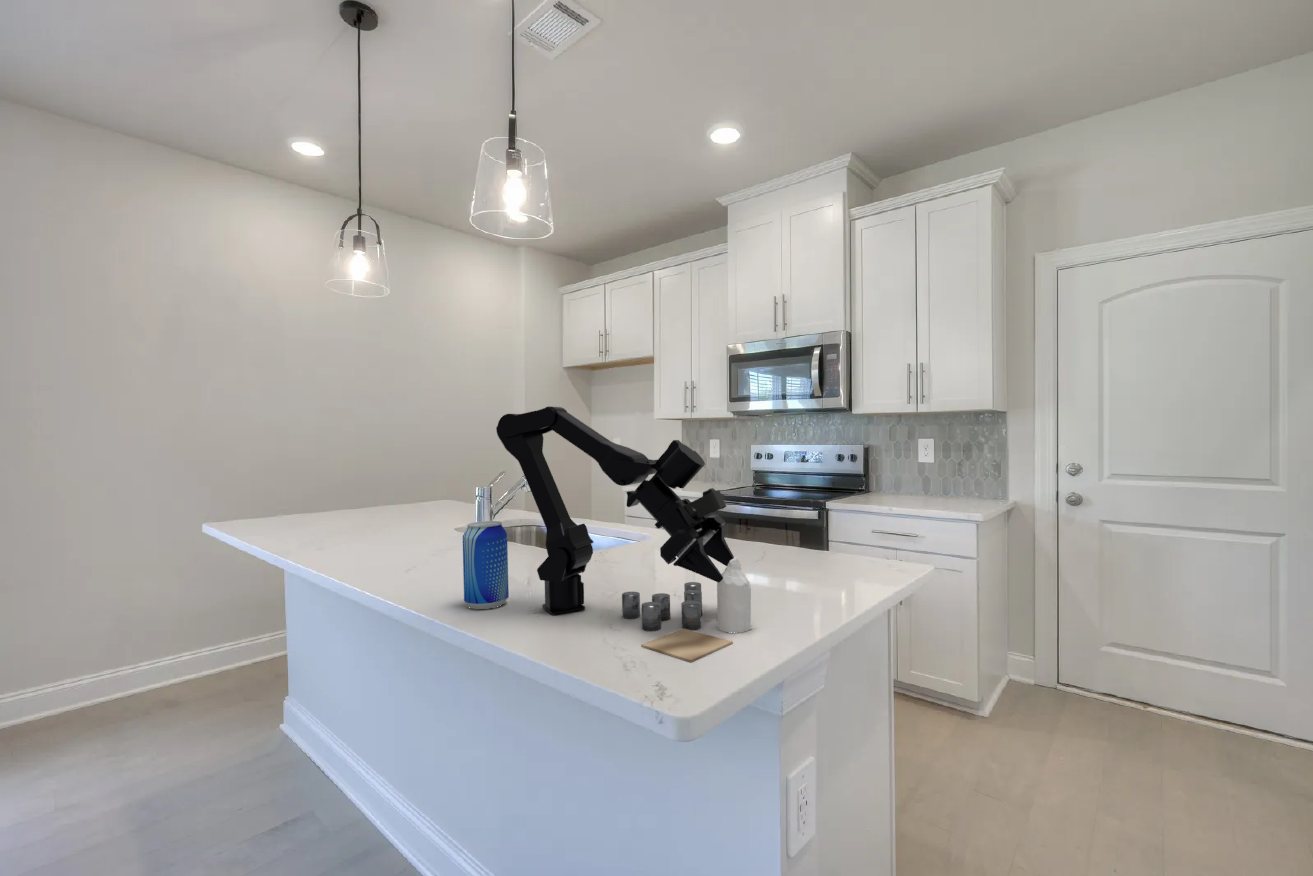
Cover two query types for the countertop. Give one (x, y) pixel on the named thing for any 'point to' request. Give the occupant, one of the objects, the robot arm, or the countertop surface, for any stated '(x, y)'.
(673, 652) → the mat
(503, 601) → the beer can
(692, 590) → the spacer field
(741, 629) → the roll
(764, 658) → the countertop surface
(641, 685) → the countertop surface
